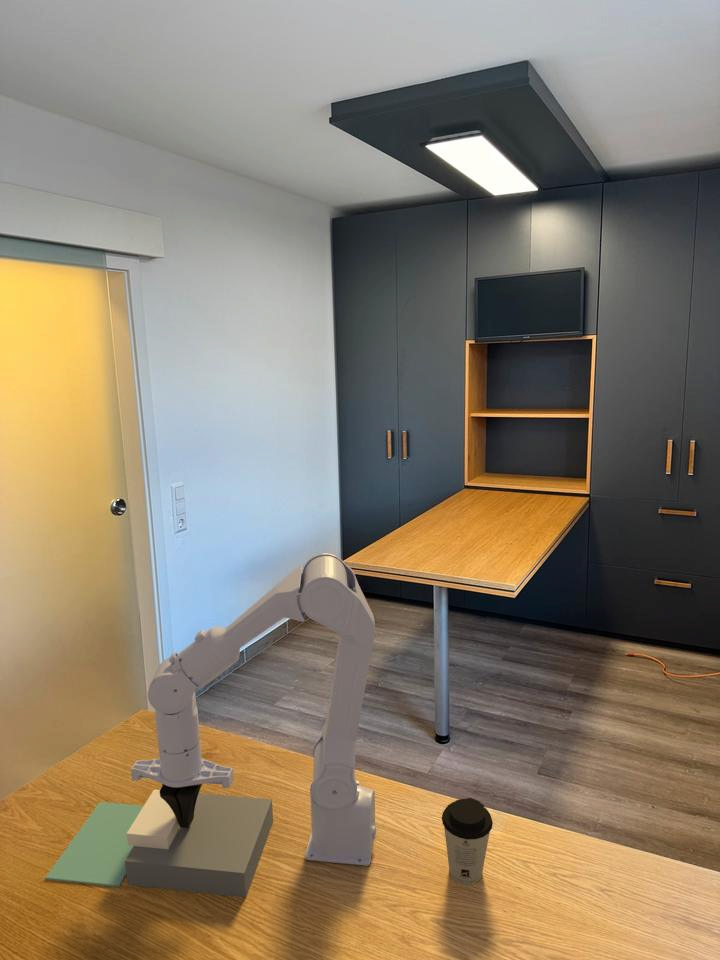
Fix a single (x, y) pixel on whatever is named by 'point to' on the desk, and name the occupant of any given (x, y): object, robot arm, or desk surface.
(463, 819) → the coffee cup
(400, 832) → the desk surface
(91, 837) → the mat
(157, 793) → the beige rectangular block
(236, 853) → the plate
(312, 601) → the robot arm
